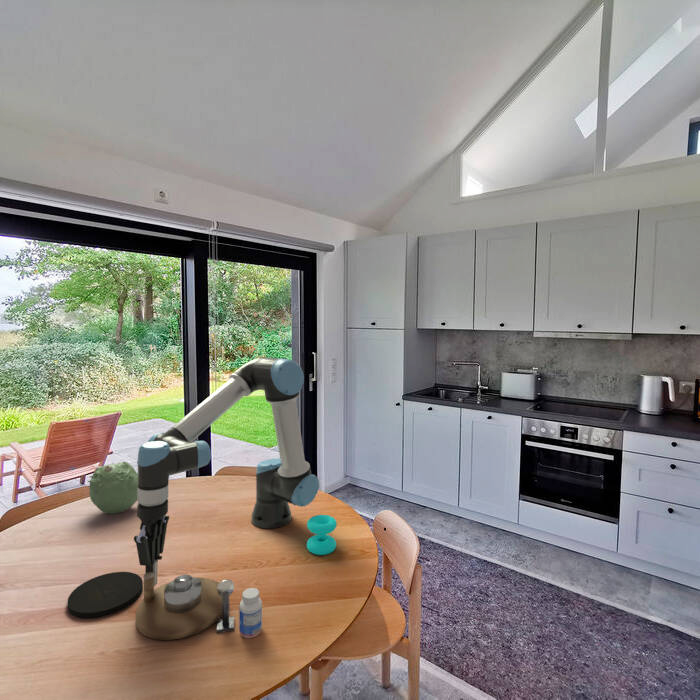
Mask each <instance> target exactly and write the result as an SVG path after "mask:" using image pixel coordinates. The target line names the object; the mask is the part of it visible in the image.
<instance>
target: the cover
mask: <svg viewBox="0 0 700 700" xmlns="http://www.w3.org/2000/svg"><path fill="white" fill-rule="evenodd" d="M168 583H169V584H168V585H167V586H166V587H165V589H164V607H165V610H166V611H168V612H170V613H184V612H187V611H190V610H192V609H194V608H195V607H196V606H198V604H199V603H200V601H201V581H200V580H199V579H198V578H195V577H194V576H192V575H190V574H182V575H181V574H180V575H179V576H177V577H174V579H173V580H172V581H170V582H168Z"/></svg>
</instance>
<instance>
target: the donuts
mask: <svg viewBox="0 0 700 700" xmlns="http://www.w3.org/2000/svg"><path fill="white" fill-rule="evenodd" d="M337 524H338V523H337V520H336V519H335V518H334V517H333V516H331V515H329V514H318V515H313V516H312V517H310V518H309V519H308V520H307V523H306V527H307V529H308V531H310V532H311V533H312V534H313V535H312V536H311V537H309V538H308V540H307V542H306V548H307V550H308V551H309V553H311V554H314V555H319V556H322V555H323V556H325V555H328V554H331V553H333V552H334V551H335V549H336V548H337V541H336V539H335V538H334V537H333V536H332V535H330V534H331V533H332V532H334V531H335V530H336V528H337Z"/></svg>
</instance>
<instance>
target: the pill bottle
mask: <svg viewBox="0 0 700 700" xmlns="http://www.w3.org/2000/svg"><path fill="white" fill-rule="evenodd" d="M241 597H242V598H241V600H240V603H239V609H238V611H239V615H238V616H239V620H238V621H239V622H238V623H239V624H238V625H239V626H238V627H239V634H240V636H241V637H242V638H243V637H244V638H247V639H250V638H254V637H255V638H256V636H258V635H259V634H260V633H261V632H262V629H263V601H262V599H261V598H260V591H259V589H257V588H256V587H255V588H254V587H249V588H246V589H245V590H244V591H243V592H242V596H241Z"/></svg>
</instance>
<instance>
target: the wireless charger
mask: <svg viewBox="0 0 700 700" xmlns="http://www.w3.org/2000/svg"><path fill="white" fill-rule="evenodd" d="M143 592H144V580H143V579H142V577H141V576H140V575H139V574H137V573H135V572H130V571H115V572H109V573H105V574H100V575H98V576H95V577H93V578H91V579H89V580H87V581H84V582H83V583H81V584H80V585H78V586H77V587H75V588H74V589H73V590H72V591H71V593H70V594H69V595H68V598H67V612H68V613H69V615H70V616H72V617H74V618H76V619H82V620H95V619H100V618H105V617H108V616H111V615H114V614H118V613H119V612H121V611H123V610H125V609H126V608H129V607H130V606H131V605H132V604H134V603H135V602H136V601H137V600H138V599H140V597H141V596H142V593H143Z"/></svg>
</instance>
